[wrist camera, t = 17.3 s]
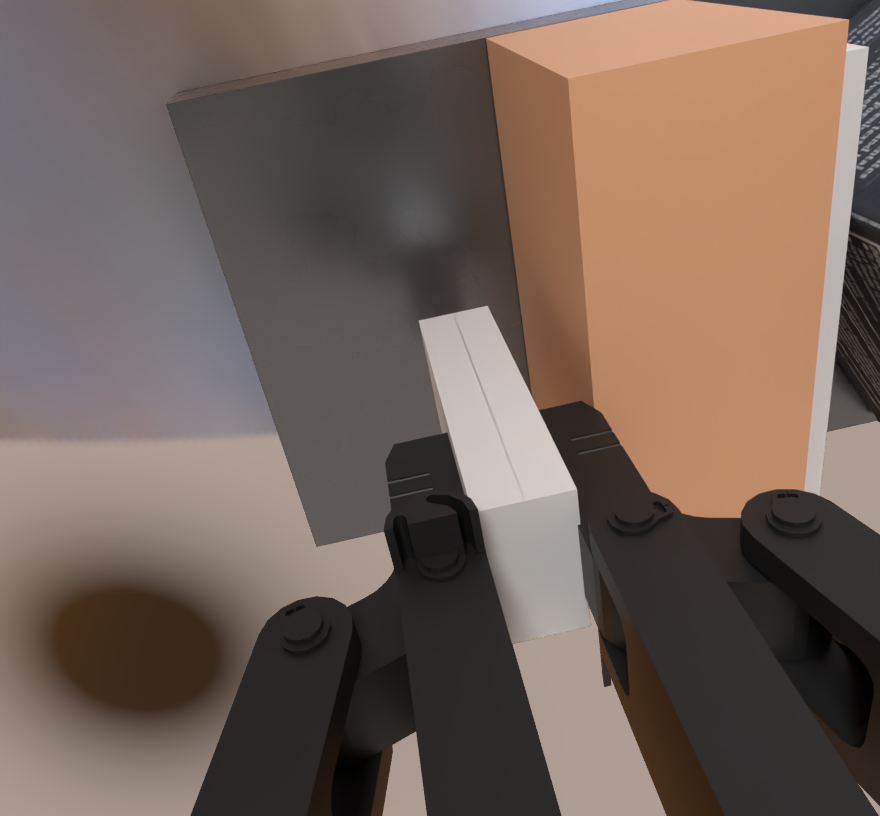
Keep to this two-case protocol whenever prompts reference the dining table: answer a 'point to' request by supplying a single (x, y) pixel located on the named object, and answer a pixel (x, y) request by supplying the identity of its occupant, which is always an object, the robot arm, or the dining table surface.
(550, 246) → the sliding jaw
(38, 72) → the dining table surface
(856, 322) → the small box
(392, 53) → the vise
